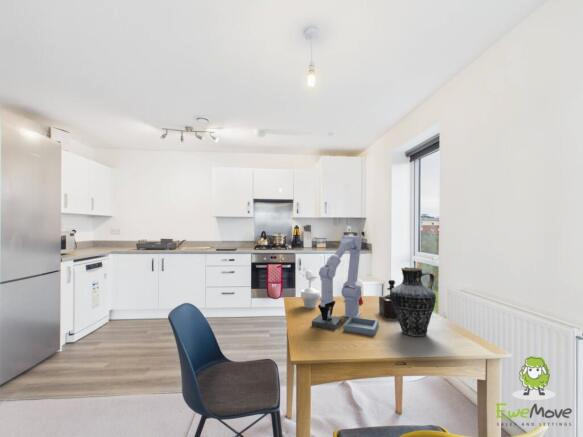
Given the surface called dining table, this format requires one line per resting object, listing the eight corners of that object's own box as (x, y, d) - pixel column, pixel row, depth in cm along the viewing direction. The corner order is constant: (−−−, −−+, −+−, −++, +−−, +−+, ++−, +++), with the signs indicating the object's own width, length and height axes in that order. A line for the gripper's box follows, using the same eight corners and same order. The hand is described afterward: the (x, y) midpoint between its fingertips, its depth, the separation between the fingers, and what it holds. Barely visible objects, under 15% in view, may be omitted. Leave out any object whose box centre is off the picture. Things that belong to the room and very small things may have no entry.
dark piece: (405, 318, 156) (405, 284, 156) (385, 318, 156) (385, 284, 156) (394, 309, 172) (393, 279, 172) (375, 309, 171) (375, 279, 171)
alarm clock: (349, 300, 180) (343, 289, 194) (348, 309, 181) (342, 297, 196) (365, 299, 181) (358, 288, 195) (365, 308, 182) (358, 297, 197)
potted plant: (298, 305, 180) (298, 264, 181) (315, 303, 184) (315, 264, 184) (305, 311, 168) (305, 267, 169) (323, 309, 172) (323, 267, 172)
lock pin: (324, 322, 149) (324, 305, 149) (332, 323, 148) (332, 306, 148) (322, 325, 146) (322, 307, 146) (329, 326, 144) (329, 308, 144)
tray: (350, 322, 150) (350, 316, 150) (378, 326, 144) (378, 320, 144) (343, 331, 137) (343, 325, 137) (374, 336, 131) (374, 329, 131)
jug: (408, 343, 123) (407, 272, 124) (382, 327, 142) (381, 265, 143) (448, 338, 129) (447, 270, 129) (418, 323, 148) (417, 264, 148)
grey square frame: (319, 319, 155) (319, 314, 155) (341, 322, 150) (341, 317, 150) (311, 326, 144) (311, 321, 144) (335, 330, 139) (335, 324, 139)
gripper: (324, 286, 155) (324, 312, 155) (314, 292, 142) (314, 320, 142) (336, 288, 152) (336, 314, 152) (328, 294, 139) (328, 322, 139)
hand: (327, 317), depth 147 cm, fingers open, 7 cm apart
